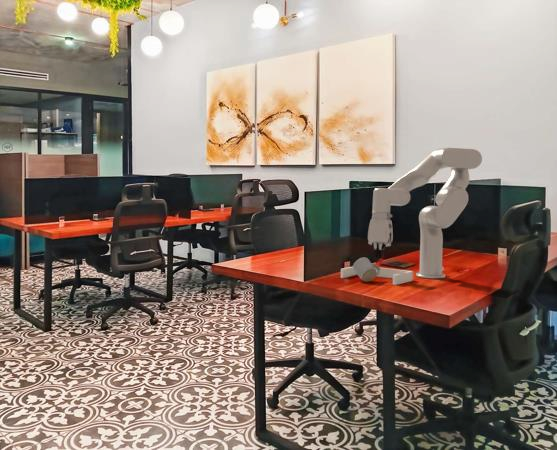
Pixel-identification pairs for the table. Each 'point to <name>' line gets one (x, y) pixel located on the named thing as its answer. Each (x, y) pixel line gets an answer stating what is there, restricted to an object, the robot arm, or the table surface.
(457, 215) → the robot arm
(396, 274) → the white u-shaped bracket
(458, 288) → the table surface
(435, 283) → the table surface
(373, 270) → the ceramic mug
